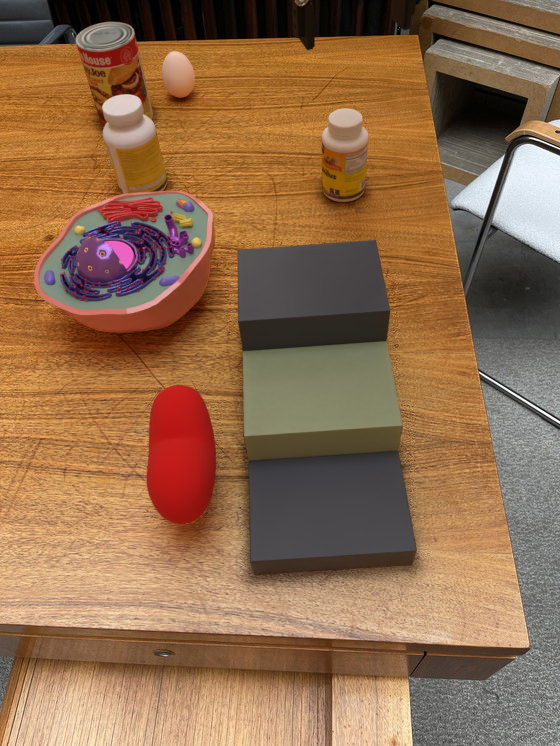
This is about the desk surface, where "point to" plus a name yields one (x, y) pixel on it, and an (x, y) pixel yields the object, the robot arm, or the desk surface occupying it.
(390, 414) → the tiered shelf
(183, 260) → the cell model
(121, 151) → the pill bottle
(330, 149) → the supplement bottle
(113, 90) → the canned food
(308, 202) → the desk surface
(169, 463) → the red kidney model
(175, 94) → the egg
